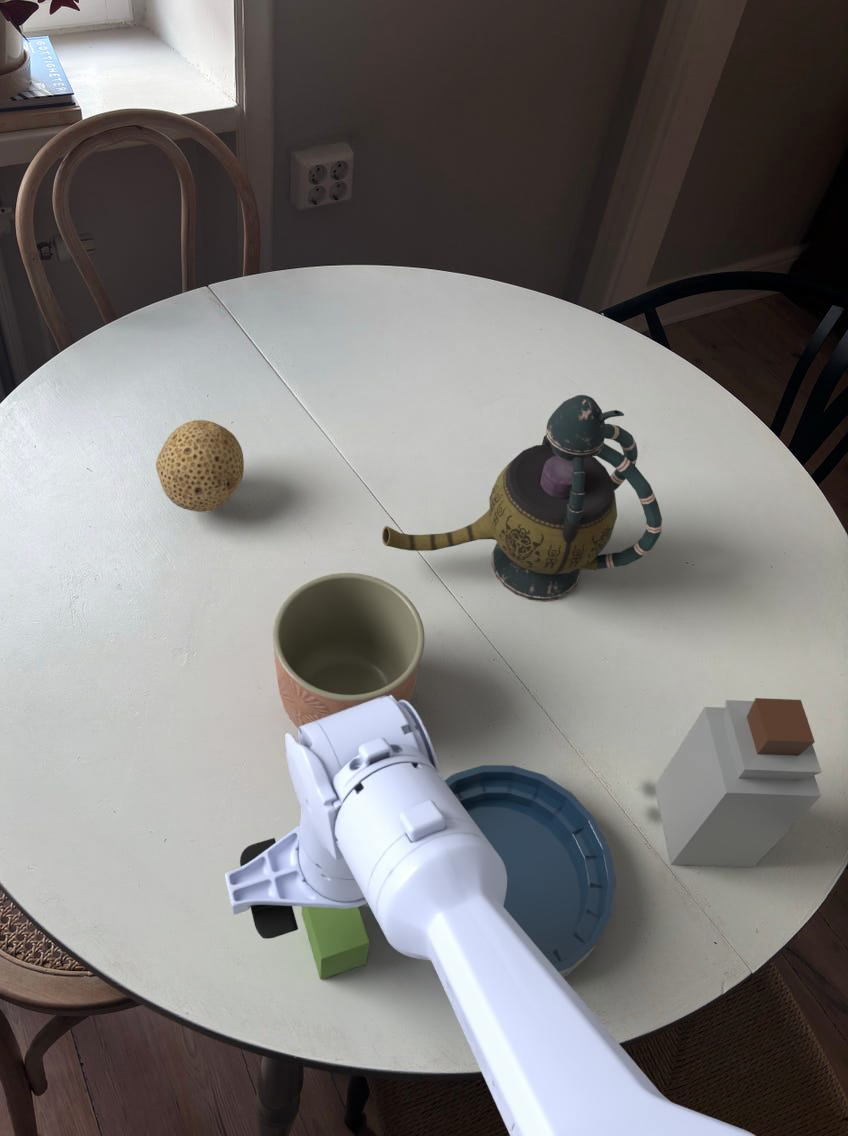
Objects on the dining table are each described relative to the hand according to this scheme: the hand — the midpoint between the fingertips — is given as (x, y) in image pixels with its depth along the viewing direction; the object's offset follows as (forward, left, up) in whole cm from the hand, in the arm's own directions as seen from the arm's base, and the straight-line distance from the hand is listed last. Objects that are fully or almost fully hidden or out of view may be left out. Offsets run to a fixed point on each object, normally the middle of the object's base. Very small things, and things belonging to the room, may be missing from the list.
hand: (337, 895), depth 64 cm
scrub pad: (0, 0, -9) cm, 9 cm away
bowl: (0, -14, -9) cm, 17 cm away
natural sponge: (+46, 0, -9) cm, 47 cm away
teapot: (+29, -27, -9) cm, 41 cm away
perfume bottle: (-1, -32, -9) cm, 33 cm away
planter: (+19, -7, -9) cm, 22 cm away
